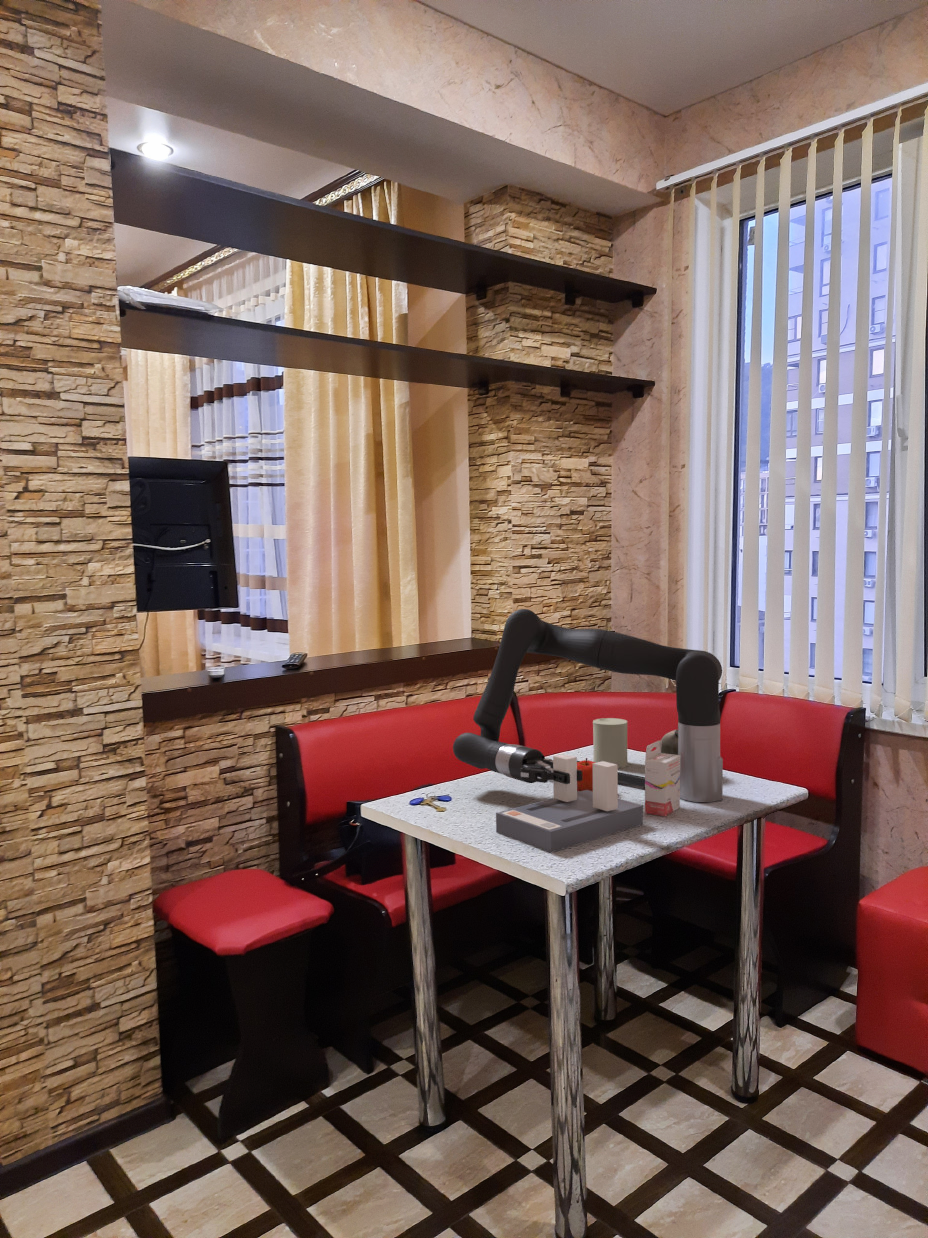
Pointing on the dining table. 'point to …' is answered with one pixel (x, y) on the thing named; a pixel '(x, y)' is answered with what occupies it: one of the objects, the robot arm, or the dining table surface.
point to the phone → (631, 781)
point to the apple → (585, 775)
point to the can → (610, 741)
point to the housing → (566, 821)
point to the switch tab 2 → (605, 786)
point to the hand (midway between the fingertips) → (574, 777)
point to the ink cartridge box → (661, 781)
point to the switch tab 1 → (570, 766)
